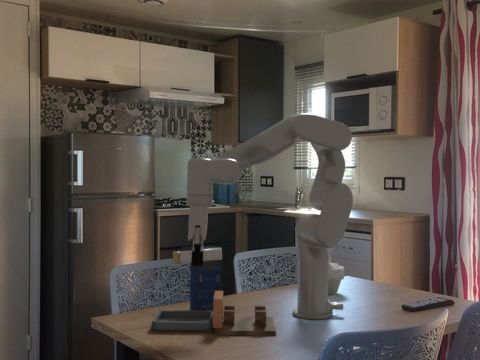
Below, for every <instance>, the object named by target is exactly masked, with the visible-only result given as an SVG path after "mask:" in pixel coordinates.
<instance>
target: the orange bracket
mask: <svg viewBox="0 0 480 360" xmlns="http://www.w3.org/2000/svg"><path fill="white" fill-rule="evenodd" d="M212 311H213V329H214V328H222V319H223V317H224V291H223V290H221V291H215V294H214V299H213V310H212Z"/></svg>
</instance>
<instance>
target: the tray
mask: <svg viewBox="0 0 480 360" xmlns="http://www.w3.org/2000/svg"><path fill="white" fill-rule="evenodd" d="M151 332H172V333H173V332H174V333H175V332H180V333H183V332H185V333H186V332H187V333H188V332H189V333H191V332H192V333H214V328H213V310H208V311H194V310H190V309H189V310H188V309H187V310H183V309H182V310H181V309H180V310H178V309H177V310H176V309H175V310H174V309H173V310H172V309H169V310H168V309H162V310H161V309H159V310H158V311H157V312H156V314H155V315H154V317H153V319H152V321H151Z"/></svg>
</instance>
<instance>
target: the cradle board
mask: <svg viewBox="0 0 480 360" xmlns="http://www.w3.org/2000/svg"><path fill="white" fill-rule="evenodd" d="M235 307H236V305H234V304H233V305H232V304H223V319H222V328H213V335H214V336H215V335H216V336H218V335H219V336H277V330H276V325H275V320H274V317H272V316H269V317H267V310H266V305H254V316H235Z"/></svg>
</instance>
